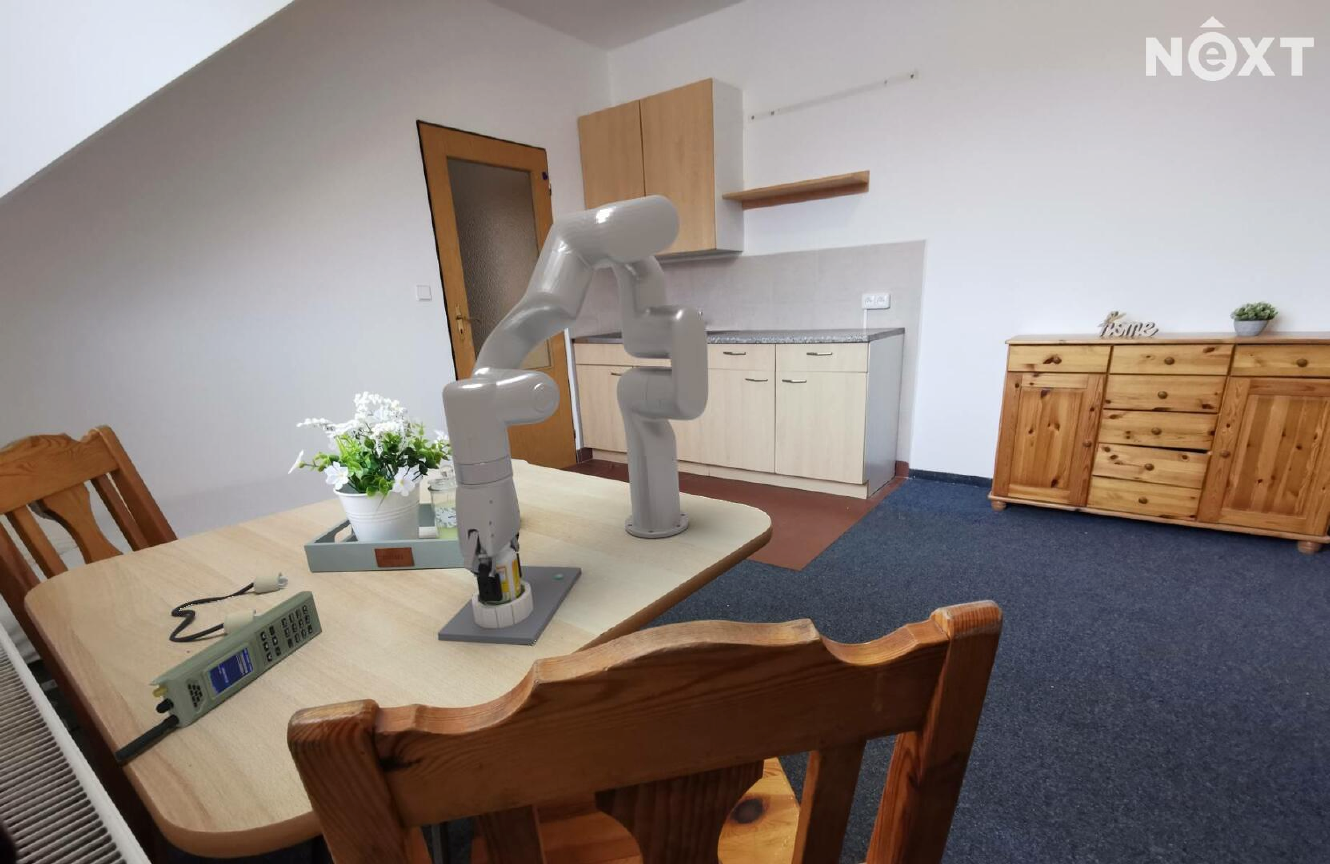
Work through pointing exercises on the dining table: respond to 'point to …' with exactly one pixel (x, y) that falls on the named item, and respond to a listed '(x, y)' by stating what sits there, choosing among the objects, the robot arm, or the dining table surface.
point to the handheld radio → (229, 665)
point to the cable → (232, 619)
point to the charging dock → (526, 627)
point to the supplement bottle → (506, 575)
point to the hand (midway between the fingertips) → (501, 587)
